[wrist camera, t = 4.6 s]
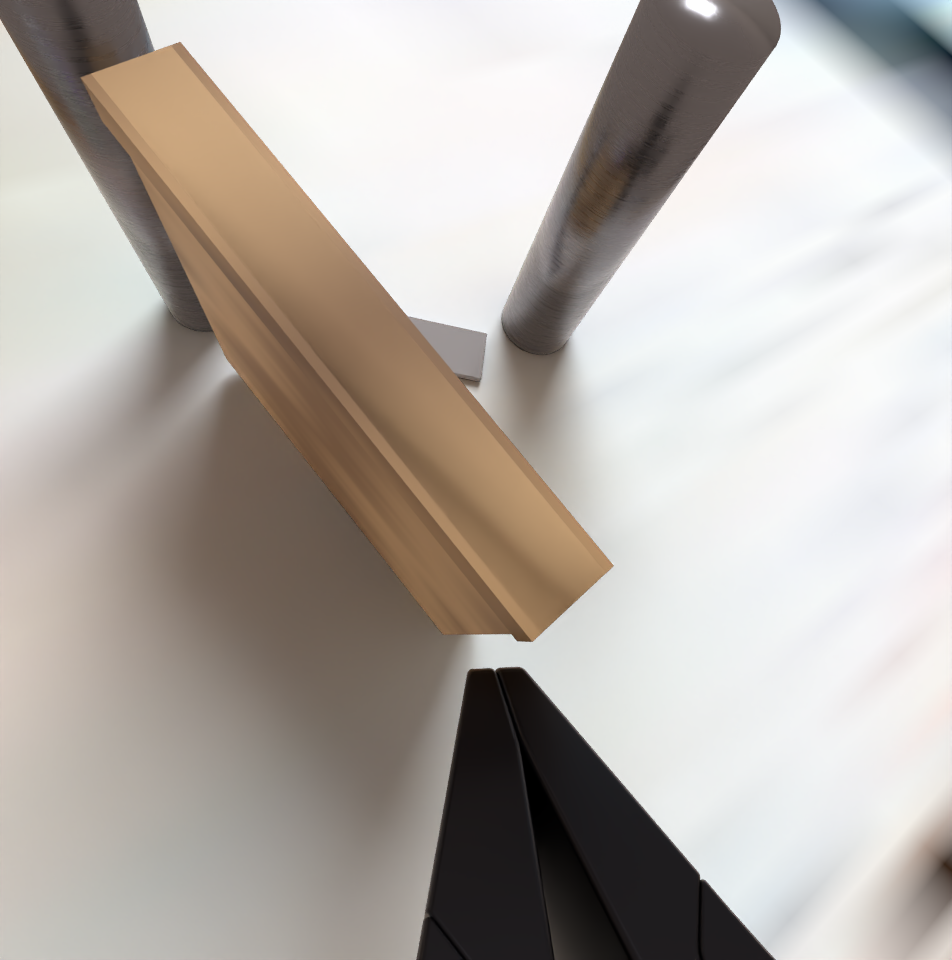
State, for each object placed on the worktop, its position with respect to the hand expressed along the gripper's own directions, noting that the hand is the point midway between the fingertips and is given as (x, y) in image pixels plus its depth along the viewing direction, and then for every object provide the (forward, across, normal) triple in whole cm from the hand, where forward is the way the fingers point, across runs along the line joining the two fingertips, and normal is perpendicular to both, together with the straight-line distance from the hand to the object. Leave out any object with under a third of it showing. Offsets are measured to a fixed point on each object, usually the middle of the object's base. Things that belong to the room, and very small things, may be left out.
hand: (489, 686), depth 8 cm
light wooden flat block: (+8, +2, +1) cm, 9 cm away
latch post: (+13, -4, -2) cm, 13 cm away
